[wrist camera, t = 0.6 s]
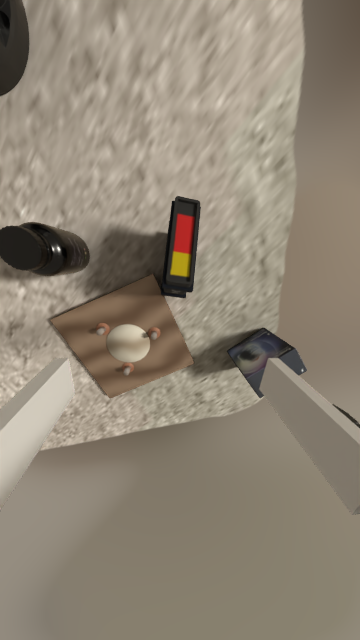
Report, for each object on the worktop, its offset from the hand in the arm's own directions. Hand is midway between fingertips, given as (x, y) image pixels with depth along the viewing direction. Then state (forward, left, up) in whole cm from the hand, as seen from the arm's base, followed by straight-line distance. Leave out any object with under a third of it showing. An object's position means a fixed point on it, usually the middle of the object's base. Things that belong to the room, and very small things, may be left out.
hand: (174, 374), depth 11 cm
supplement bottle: (-15, -12, -25) cm, 31 cm away
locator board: (+5, -11, -25) cm, 28 cm away
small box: (+19, +14, -25) cm, 35 cm away
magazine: (-7, +5, -25) cm, 26 cm away
